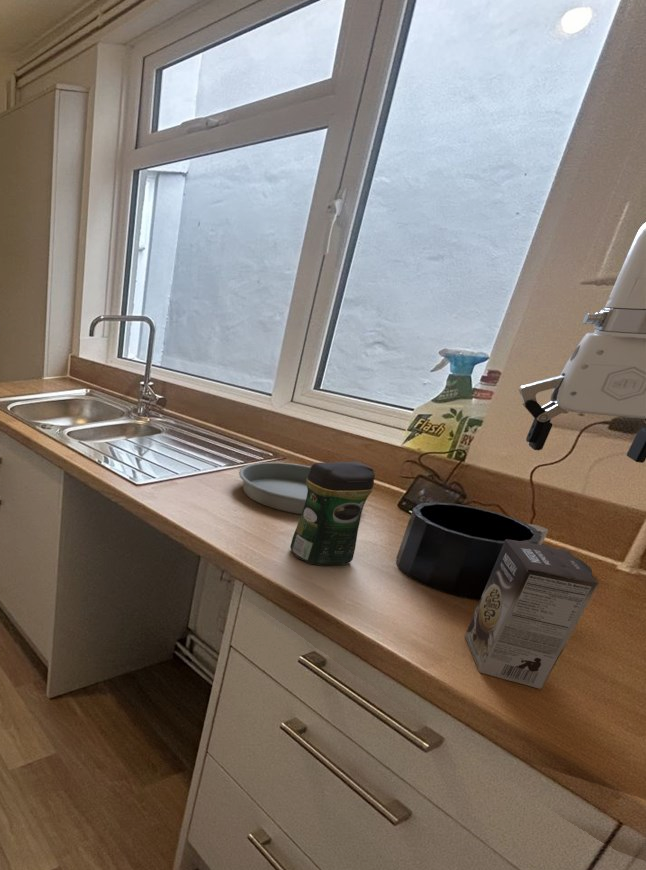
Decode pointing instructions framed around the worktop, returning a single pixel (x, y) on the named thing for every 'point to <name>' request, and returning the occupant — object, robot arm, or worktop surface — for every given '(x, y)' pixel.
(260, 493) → the cake pan
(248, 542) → the worktop surface
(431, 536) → the bin
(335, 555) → the coffee jar
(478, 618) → the coffee box
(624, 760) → the worktop surface
